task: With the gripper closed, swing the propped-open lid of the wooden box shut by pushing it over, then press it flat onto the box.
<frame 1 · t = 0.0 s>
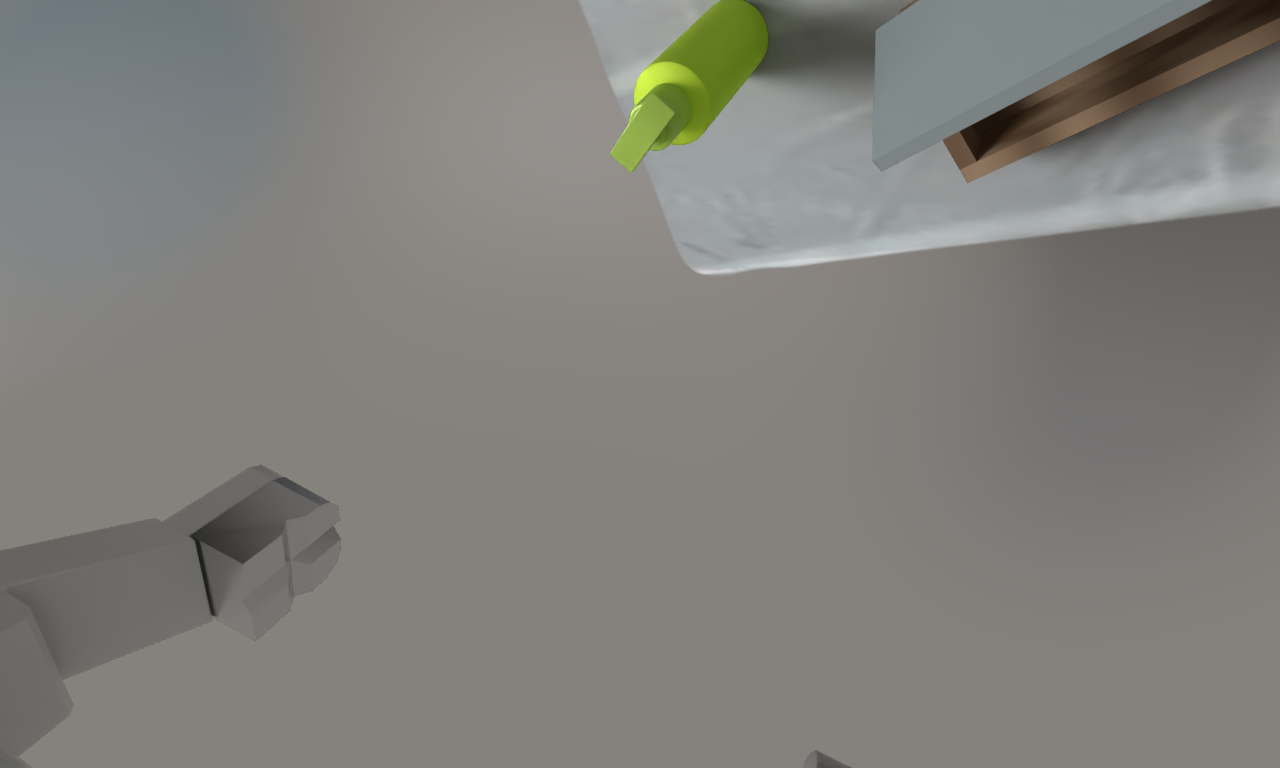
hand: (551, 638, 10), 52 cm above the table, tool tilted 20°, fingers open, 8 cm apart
soap dispenser: (738, 32, 53), on the table
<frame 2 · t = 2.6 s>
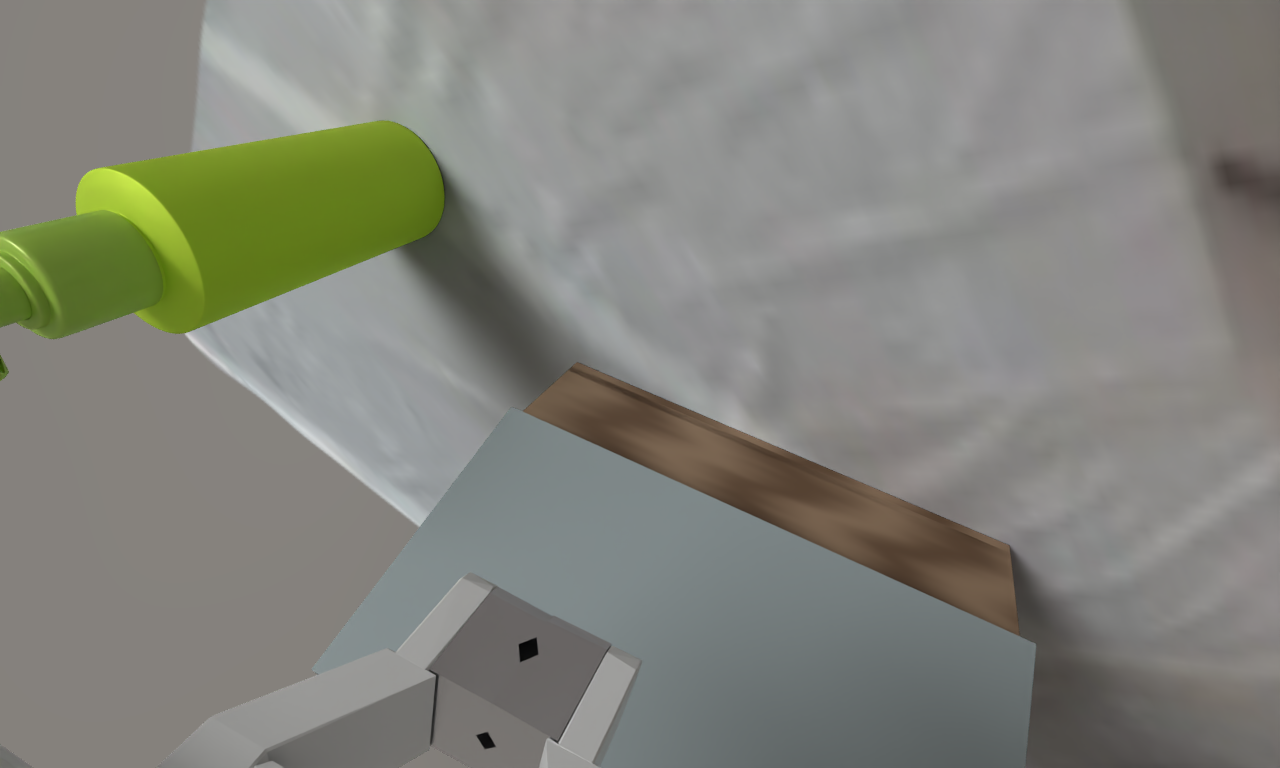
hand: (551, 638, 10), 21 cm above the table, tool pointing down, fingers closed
soap dispenser: (407, 182, 33), on the table
wooden box: (740, 532, 35), on the table
lid: (689, 660, 23), point 12 cm above the table, hinge at 70.0°
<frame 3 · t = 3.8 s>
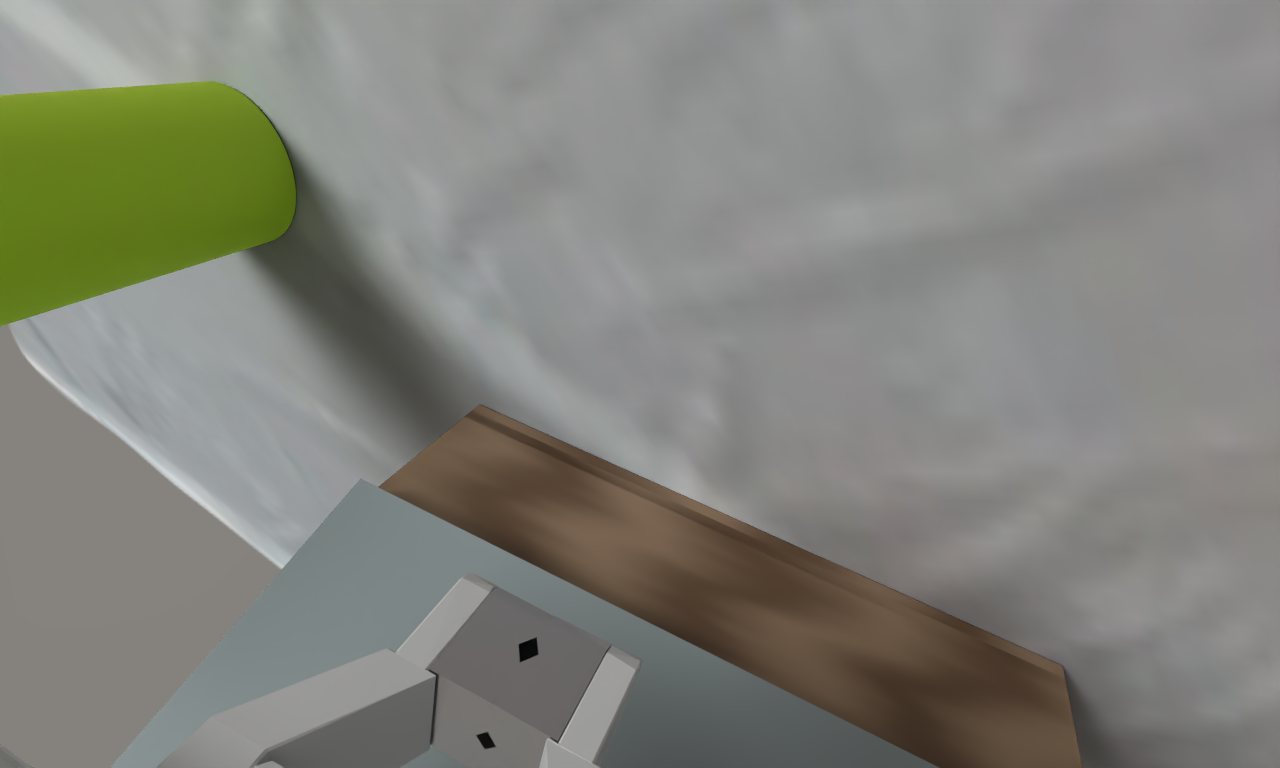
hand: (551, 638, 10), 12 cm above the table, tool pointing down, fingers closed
soap dispenser: (250, 166, 25), on the table
wooden box: (698, 625, 26), on the table
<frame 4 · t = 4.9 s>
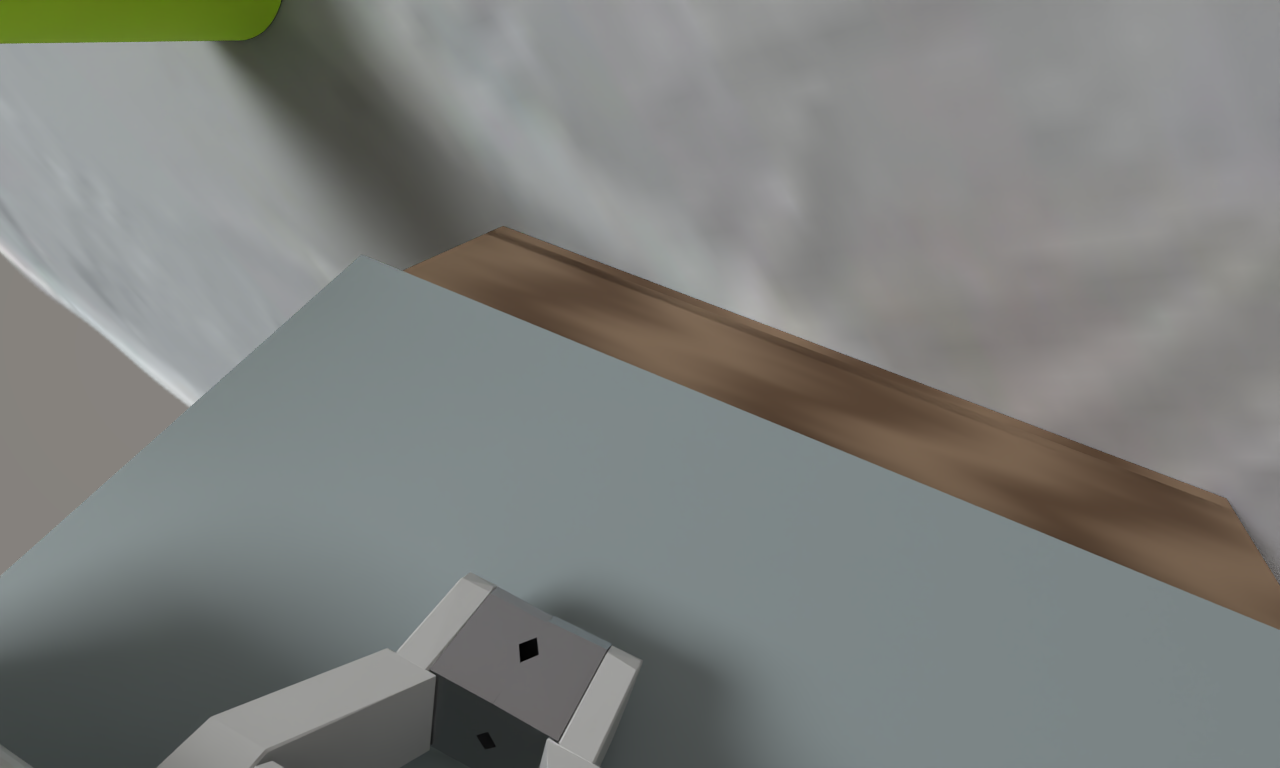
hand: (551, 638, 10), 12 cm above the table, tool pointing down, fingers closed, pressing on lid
wooden box: (758, 492, 23), on the table
lid: (674, 723, 11), point 12 cm above the table, hinge at 68.8°, touching gripper
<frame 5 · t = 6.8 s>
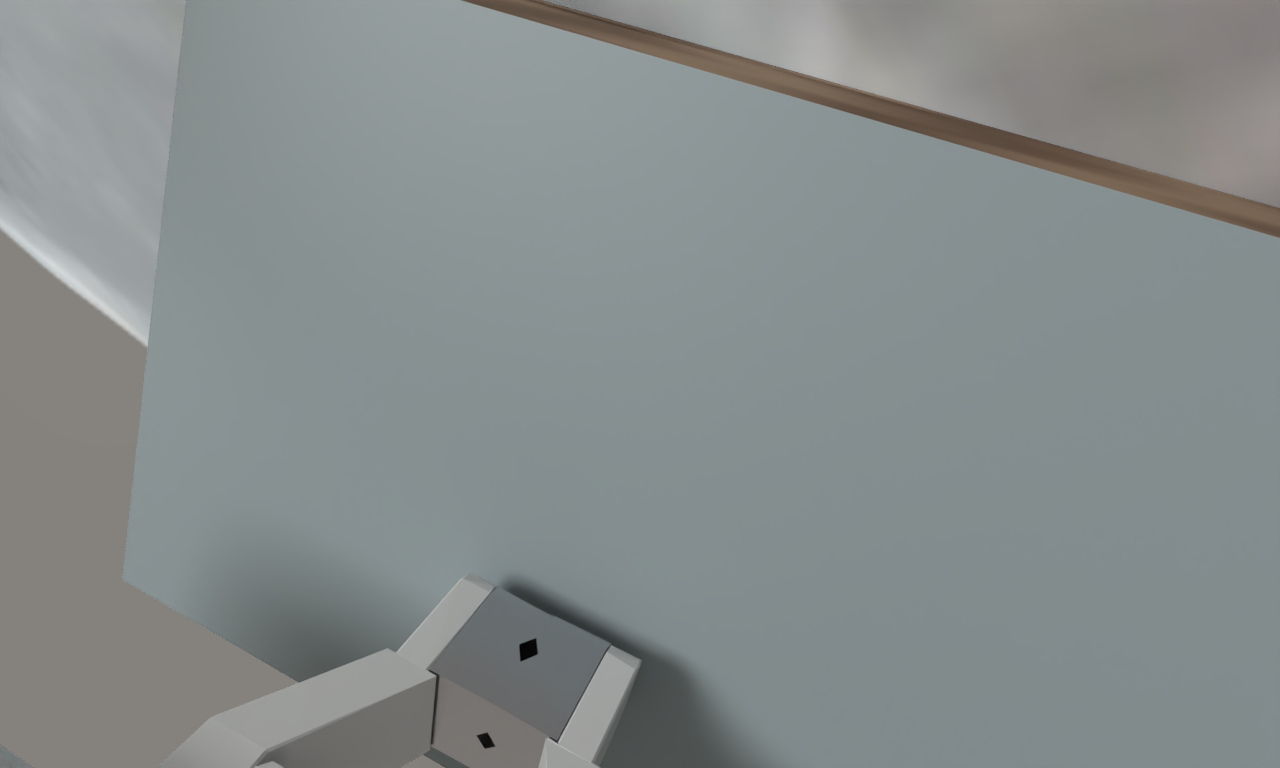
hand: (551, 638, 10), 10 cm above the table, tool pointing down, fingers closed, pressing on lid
wooden box: (813, 350, 17), on the table
lid: (741, 548, 10), point 8 cm above the table, hinge at 16.6°, touching gripper
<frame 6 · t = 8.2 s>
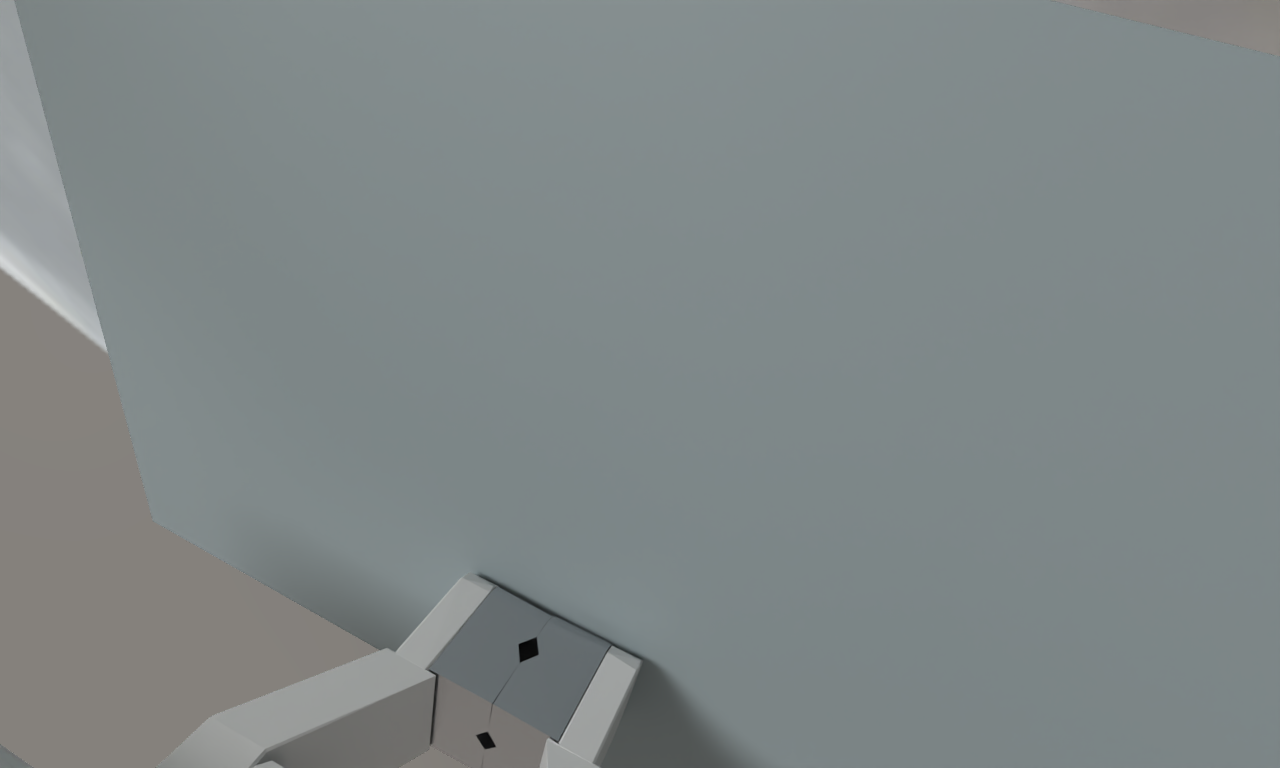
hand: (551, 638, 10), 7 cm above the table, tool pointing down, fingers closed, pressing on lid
lid: (750, 531, 8), point 7 cm above the table, hinge at 0.3°, touching gripper
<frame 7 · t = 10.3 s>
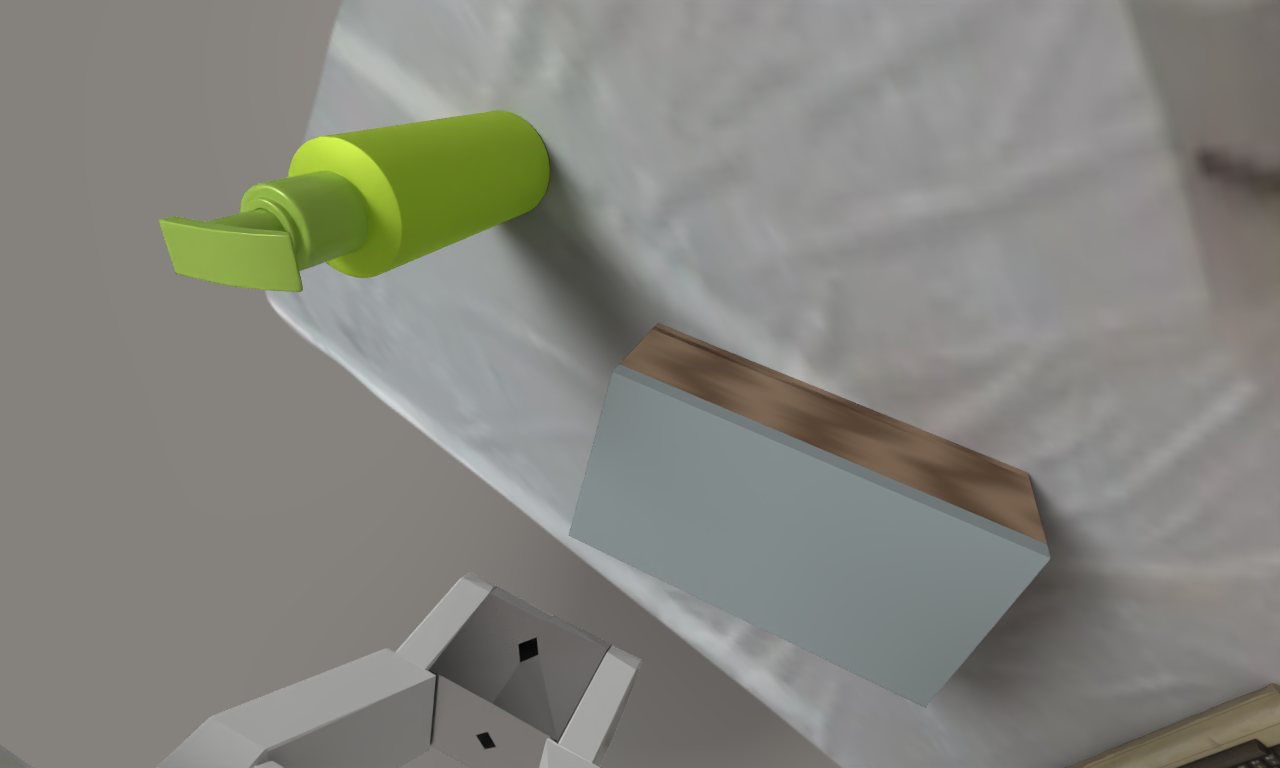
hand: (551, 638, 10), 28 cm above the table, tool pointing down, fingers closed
soap dispenser: (515, 164, 38), on the table
computer: (1190, 764, 40), on the table
wooden box: (794, 472, 40), on the table
lid: (775, 539, 35), point 7 cm above the table, hinge at 0.2°
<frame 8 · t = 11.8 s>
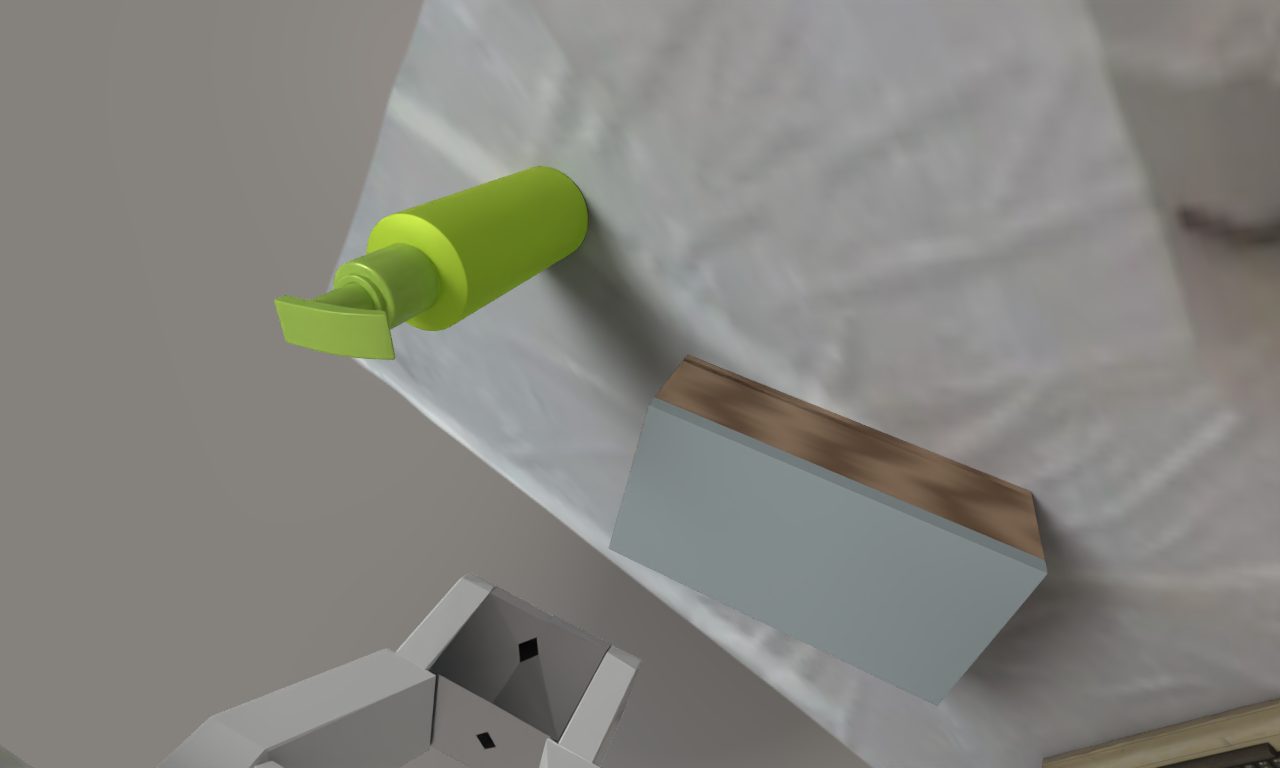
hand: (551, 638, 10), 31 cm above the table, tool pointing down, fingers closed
soap dispenser: (556, 213, 42), on the table
computer: (1191, 759, 43), on the table
wooden box: (814, 489, 44), on the table
lid: (797, 553, 38), point 7 cm above the table, hinge at 0.2°
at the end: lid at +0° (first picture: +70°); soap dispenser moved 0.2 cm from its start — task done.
